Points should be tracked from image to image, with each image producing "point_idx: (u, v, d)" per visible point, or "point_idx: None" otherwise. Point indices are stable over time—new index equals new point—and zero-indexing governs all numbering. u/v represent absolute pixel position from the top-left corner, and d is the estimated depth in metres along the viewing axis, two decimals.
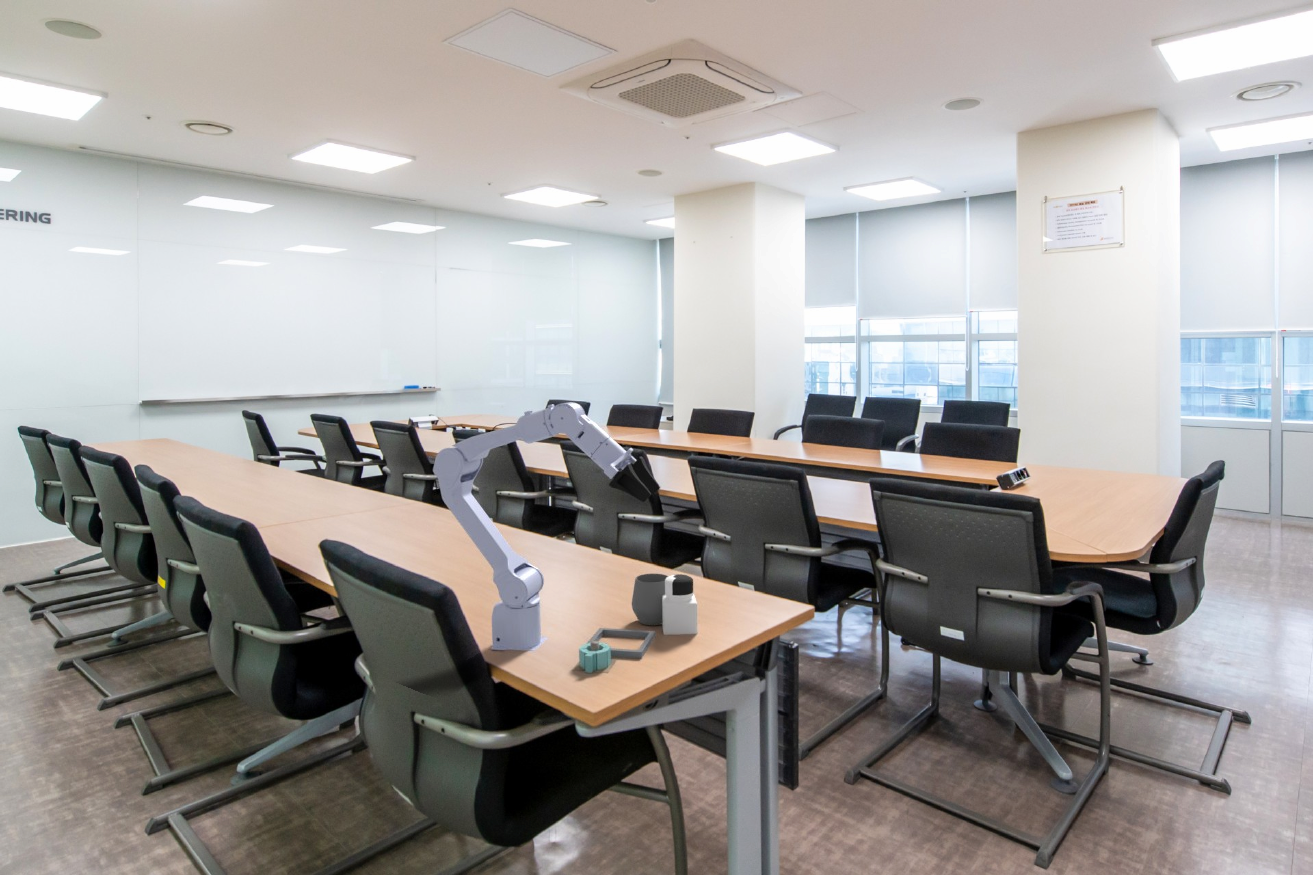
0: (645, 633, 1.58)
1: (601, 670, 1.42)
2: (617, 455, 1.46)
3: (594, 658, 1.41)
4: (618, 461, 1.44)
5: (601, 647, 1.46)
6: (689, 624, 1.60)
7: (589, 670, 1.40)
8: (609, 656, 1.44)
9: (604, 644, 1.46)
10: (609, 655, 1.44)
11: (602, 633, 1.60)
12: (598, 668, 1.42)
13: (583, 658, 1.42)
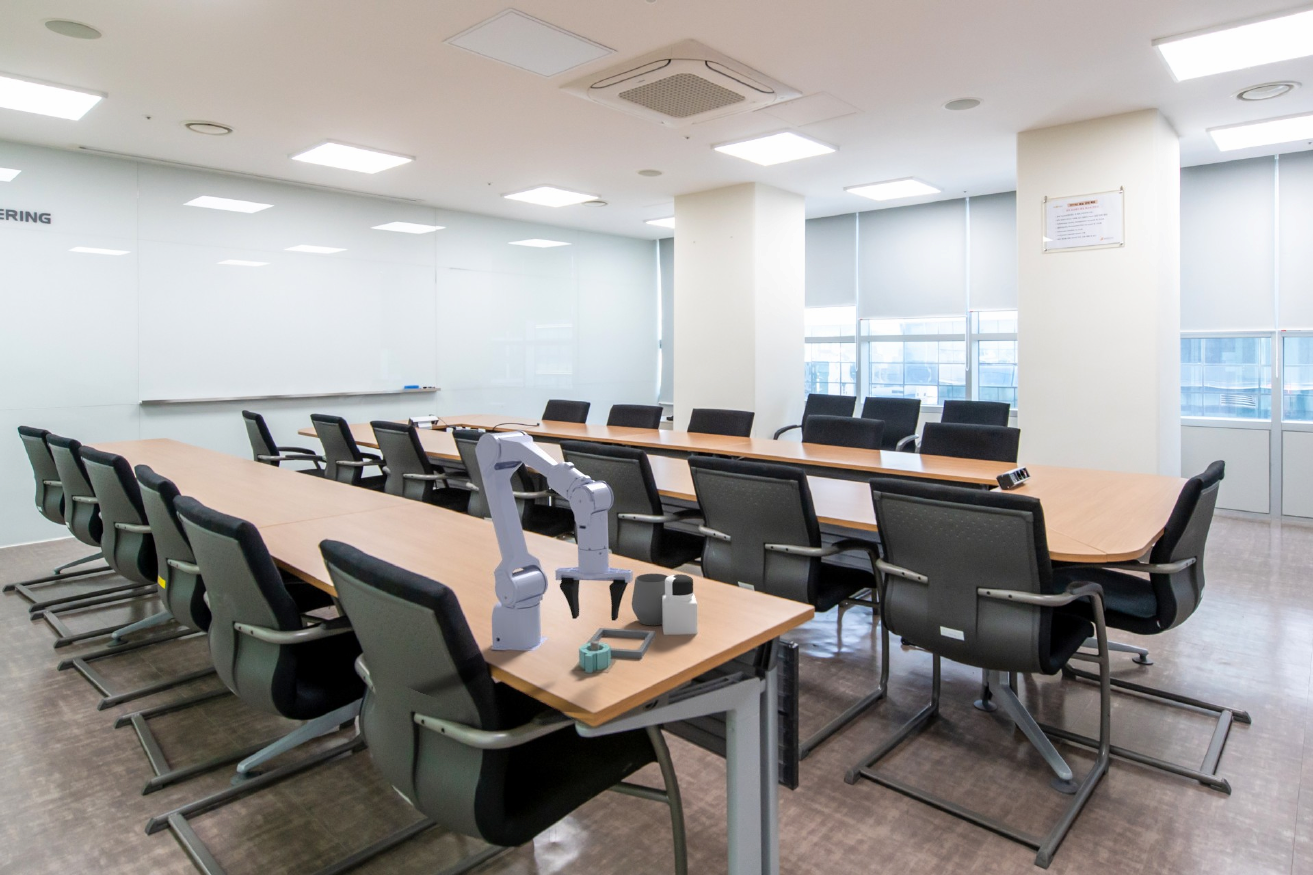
0: (645, 633, 1.58)
1: (601, 670, 1.42)
2: (579, 568, 1.42)
3: (594, 658, 1.41)
4: (569, 574, 1.42)
5: (601, 647, 1.46)
6: (689, 624, 1.60)
7: (589, 670, 1.40)
8: (609, 656, 1.44)
9: (604, 644, 1.46)
10: (609, 655, 1.44)
11: (602, 633, 1.60)
12: (598, 668, 1.42)
13: (583, 658, 1.42)
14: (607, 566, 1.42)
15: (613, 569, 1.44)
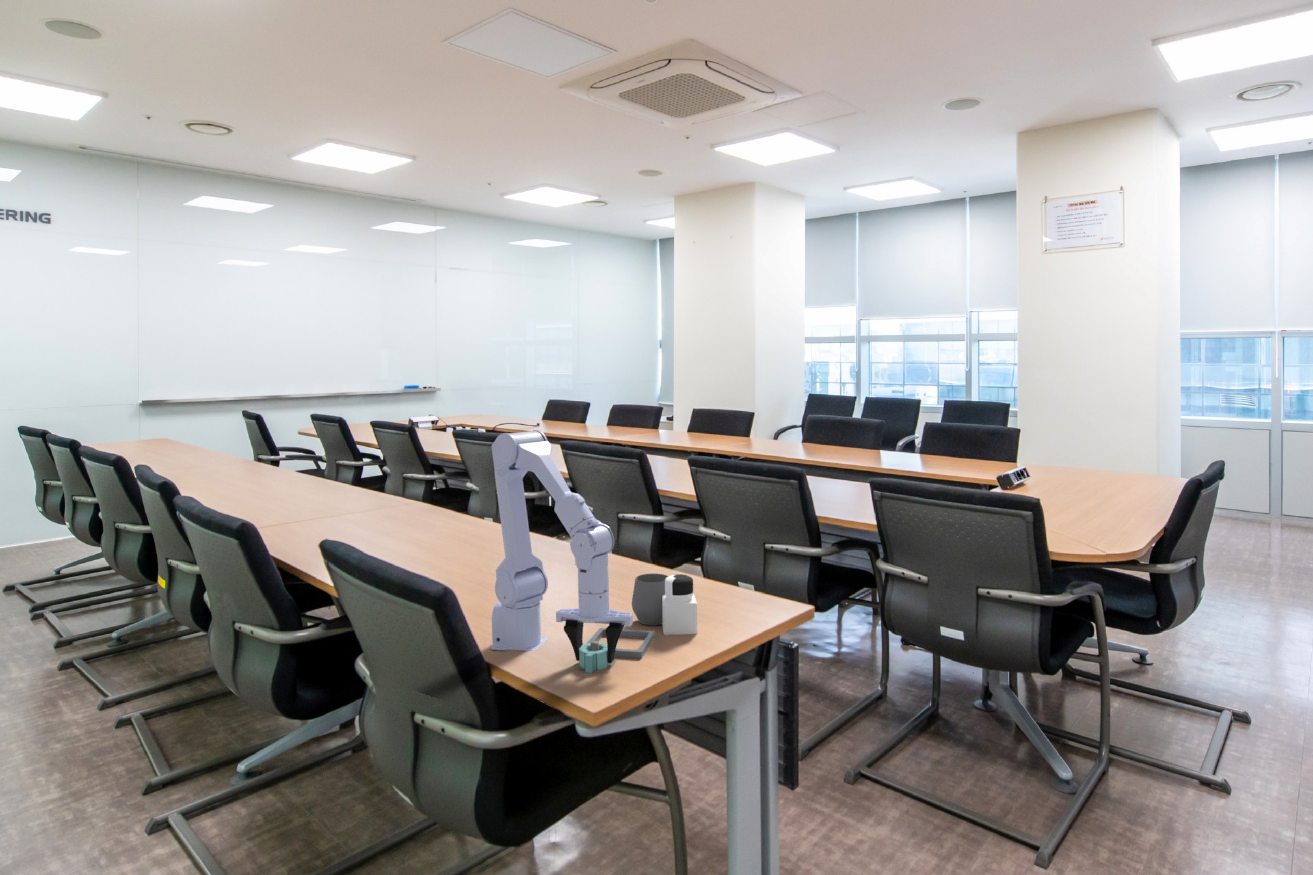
0: (645, 633, 1.58)
1: (601, 670, 1.42)
2: (579, 611, 1.42)
3: (594, 658, 1.41)
4: (569, 616, 1.43)
5: (601, 647, 1.46)
6: (689, 624, 1.60)
7: (589, 670, 1.40)
8: None
9: (604, 644, 1.46)
10: None
11: (602, 633, 1.60)
12: (598, 668, 1.42)
13: (583, 658, 1.42)
14: (607, 609, 1.43)
15: (613, 611, 1.45)
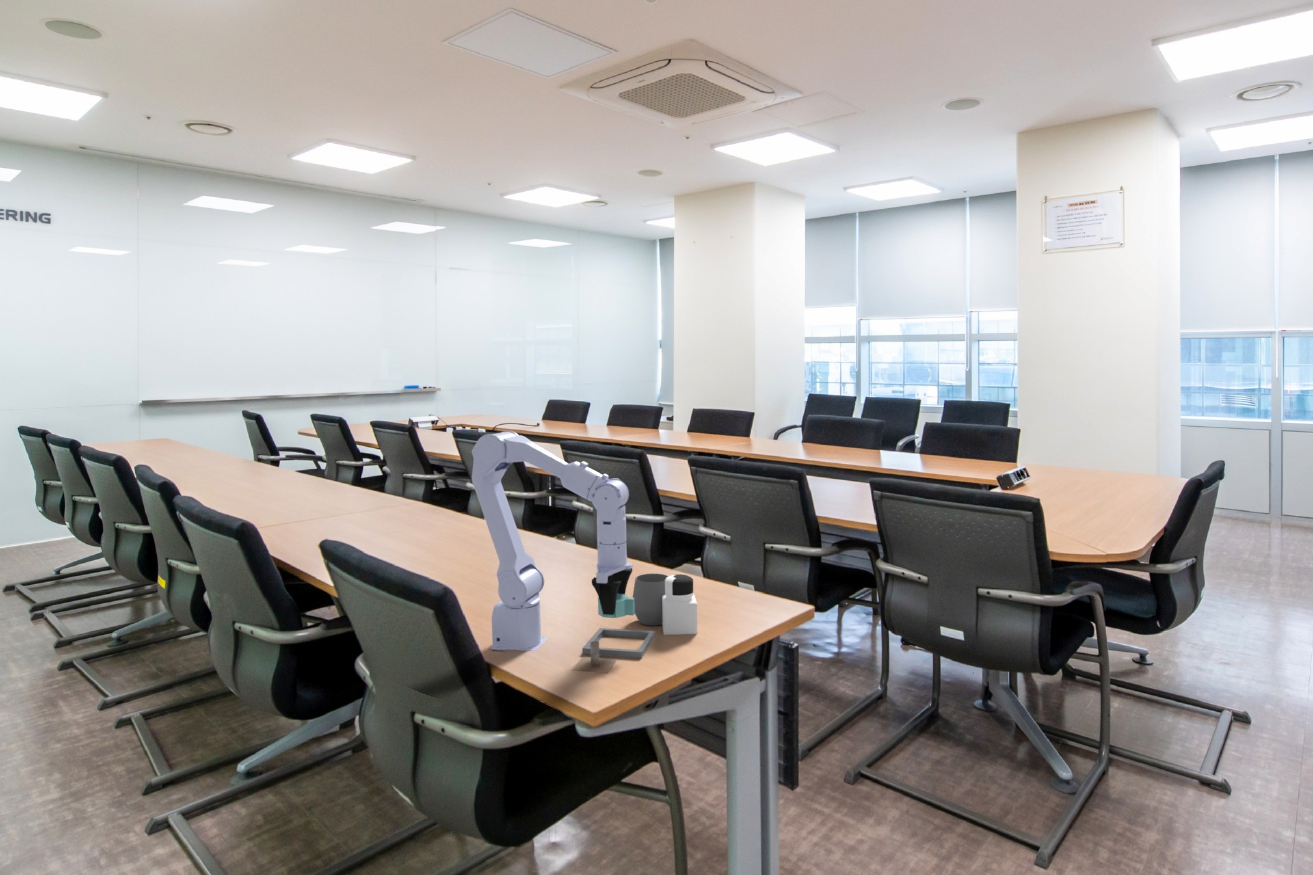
0: (645, 633, 1.58)
1: (601, 670, 1.42)
2: (617, 562, 1.48)
3: None
4: (614, 572, 1.46)
5: None
6: (689, 624, 1.60)
7: (634, 611, 1.50)
8: None
9: None
10: None
11: (602, 633, 1.60)
12: None
13: (623, 606, 1.49)
14: None
15: None
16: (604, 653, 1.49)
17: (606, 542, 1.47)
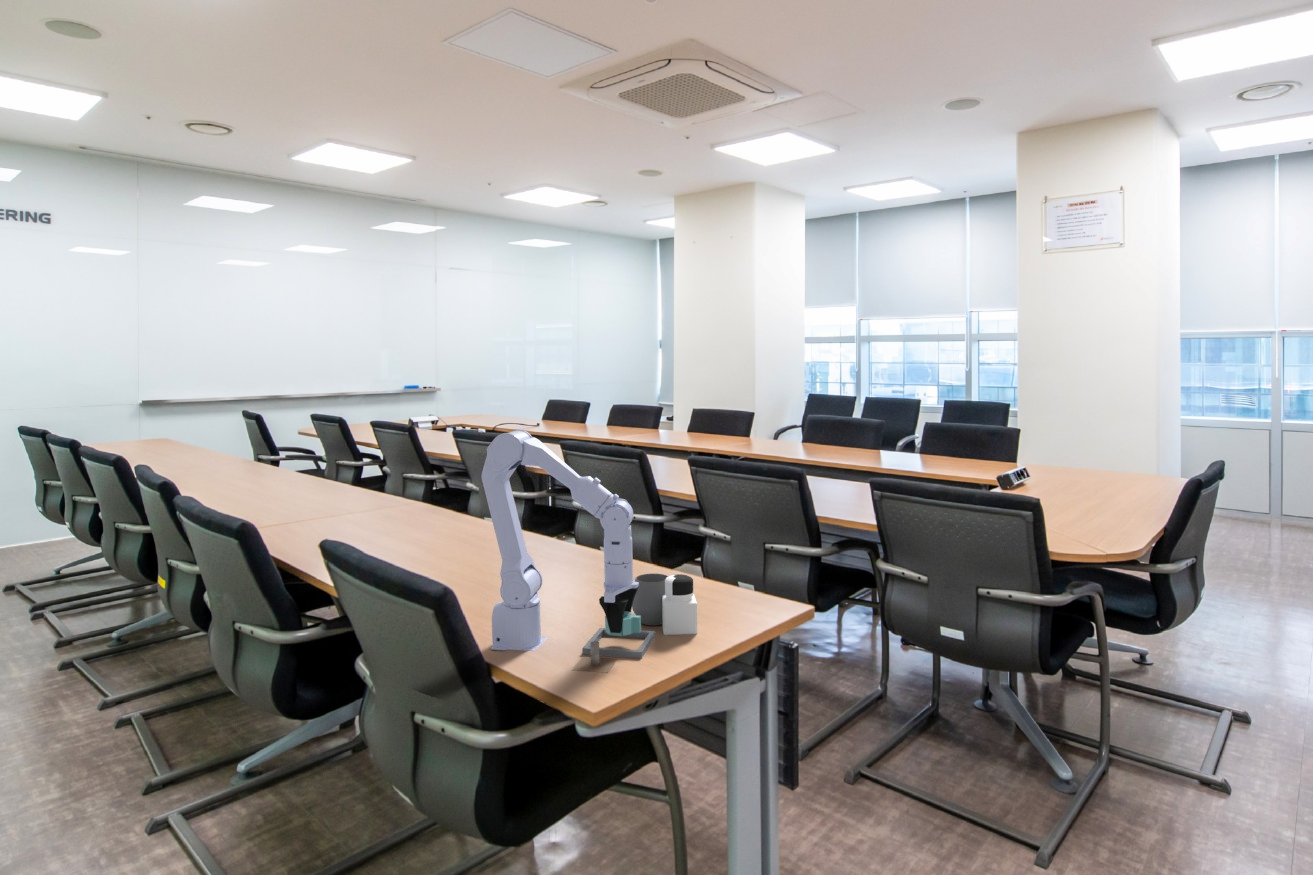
0: (645, 633, 1.58)
1: (601, 670, 1.42)
2: (624, 582, 1.51)
3: None
4: (621, 591, 1.49)
5: None
6: (689, 624, 1.60)
7: (640, 629, 1.53)
8: None
9: None
10: None
11: (602, 633, 1.60)
12: None
13: (630, 624, 1.52)
14: None
15: None
16: (604, 653, 1.49)
17: (615, 562, 1.50)
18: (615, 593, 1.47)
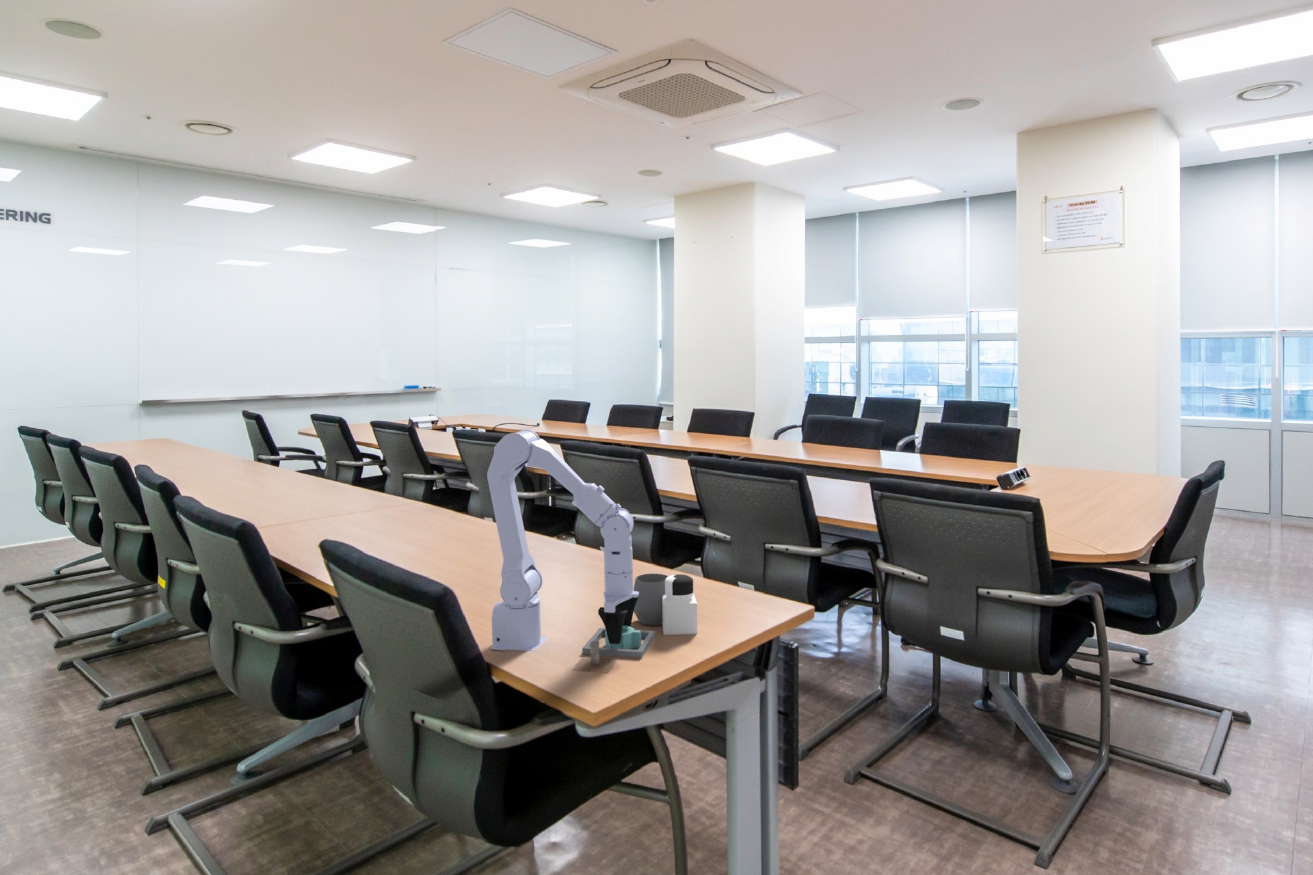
0: (645, 633, 1.58)
1: (601, 670, 1.42)
2: (624, 591, 1.51)
3: None
4: (621, 601, 1.49)
5: None
6: (689, 624, 1.60)
7: (640, 644, 1.54)
8: None
9: None
10: None
11: (602, 633, 1.60)
12: None
13: (630, 639, 1.52)
14: None
15: None
16: (604, 653, 1.49)
17: (615, 572, 1.50)
18: (615, 603, 1.47)
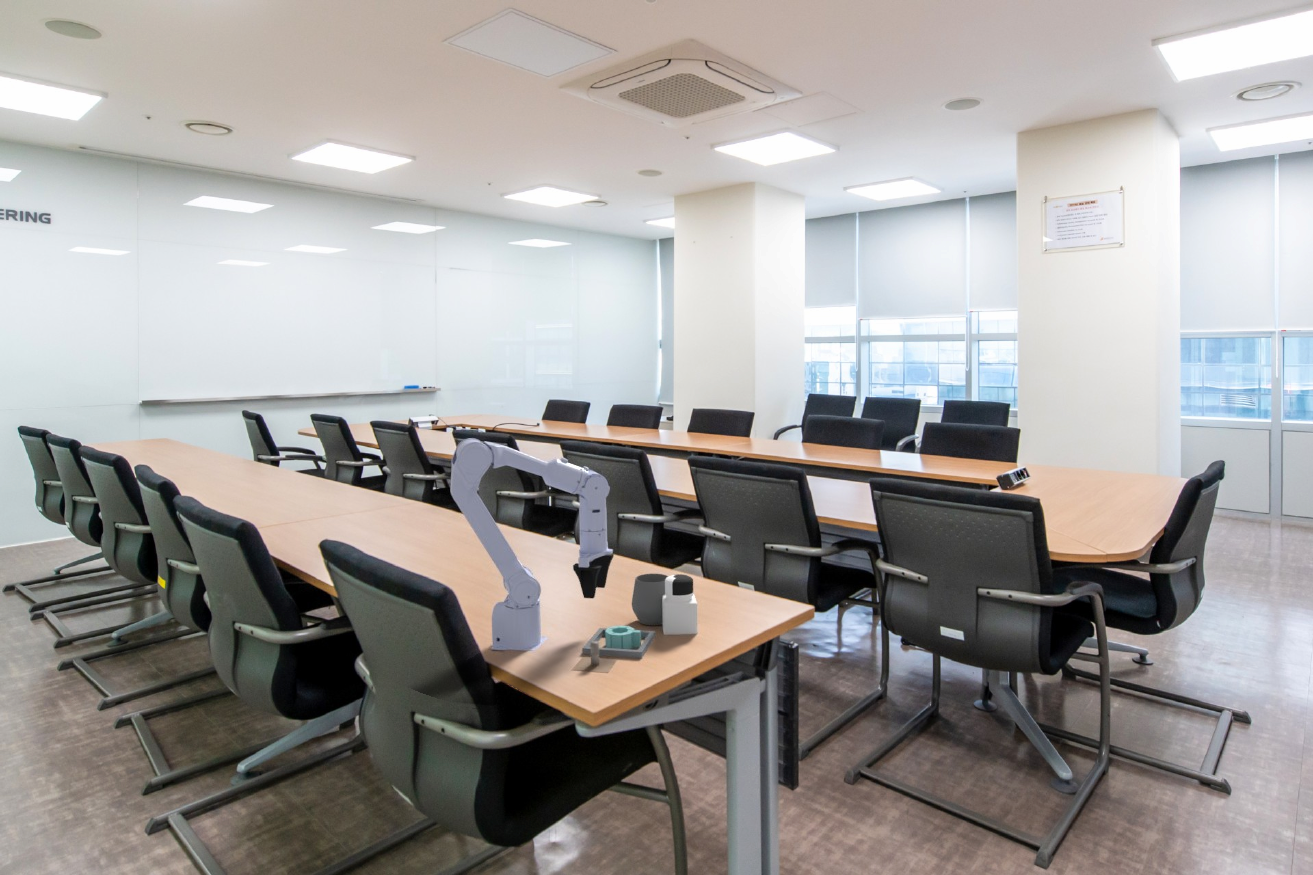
0: (645, 633, 1.58)
1: (601, 670, 1.42)
2: (598, 548, 1.57)
3: None
4: (595, 557, 1.56)
5: (613, 630, 1.55)
6: (689, 624, 1.60)
7: (640, 644, 1.54)
8: None
9: (612, 627, 1.56)
10: None
11: (602, 633, 1.60)
12: None
13: (630, 639, 1.52)
14: None
15: None
16: (604, 653, 1.49)
17: (595, 529, 1.57)
18: (589, 558, 1.54)
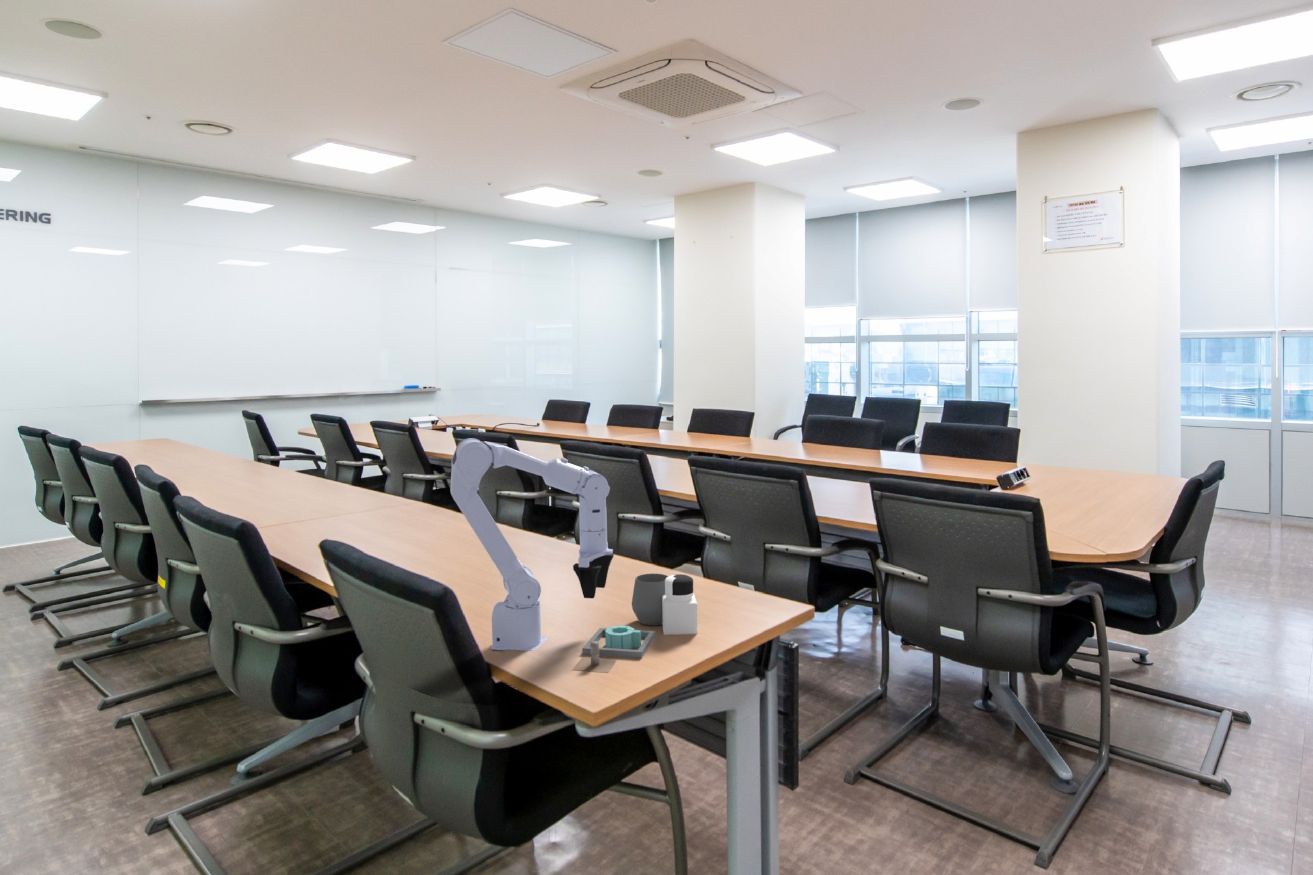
0: (645, 633, 1.58)
1: (601, 670, 1.42)
2: (598, 548, 1.57)
3: None
4: (595, 557, 1.56)
5: (613, 630, 1.55)
6: (689, 624, 1.60)
7: (640, 644, 1.54)
8: None
9: (612, 627, 1.56)
10: None
11: (602, 633, 1.60)
12: None
13: (630, 639, 1.52)
14: None
15: None
16: (604, 653, 1.49)
17: (595, 529, 1.57)
18: (589, 558, 1.54)
